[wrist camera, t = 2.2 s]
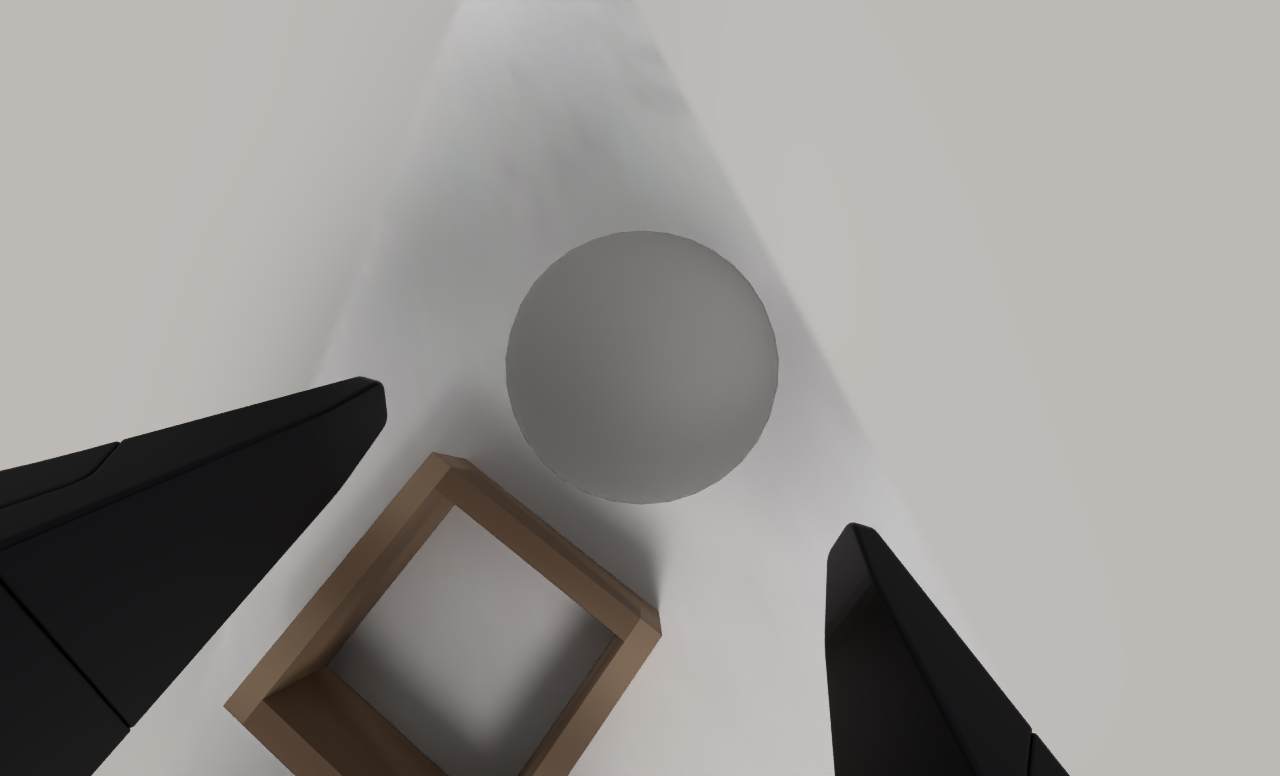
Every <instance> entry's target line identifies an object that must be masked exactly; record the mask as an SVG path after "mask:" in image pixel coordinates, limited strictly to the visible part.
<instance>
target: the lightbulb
mask: <svg viewBox="0 0 1280 776" xmlns="http://www.w3.org/2000/svg"><path fill="white" fill-rule="evenodd" d="M778 361H779V360H778V353H777V347H776V341H775V335H774V332H773V329H772V326H771V324H770V321H769V318H768V316H767V313H766V310H765V308H764V305H763V303H762V302H761V300H760V298H759V297H758V295H757V294H756V292H755V290H754V289H753V287H752V286H751V284H750V283H749V282H748V281H747V279H746V278H745V277H744V276H743V275H742V274H741V273H740V272H739V271H738V270H737V269H736V268H735V267H734V265H732V264H731V263H730V262H728V261H727V260H726V259H724V258H723V257H721V256H720V255H719V254H717V253H716V252H715V251H713V250H711V249H709V248H707V247H705V246H703V245H701V244H699V243H697V242H695V241H693V240H690V239H687V238H683V237H679V236H676V235H672V234H669V233H661V232H650V231H635V232H623V233H616V234H612V235H608V236H605V237H601V238H597V239H594V240H592V241H590V242H587V243H585V244H583V245H581V246H579V247H577V248H575V249H573V250H571V251H570V252H568V253H567V254H565V255H564V256H563V257H561V258H560V259H559V260H557V261H556V262H554V263H553V264H552V265H551V266H550V267H549V268H548V269H547V270H546V271H545V272H544V273H543V274H542V275H541V276H540V277H539V278H538V280H537V281H536V282H535V283H534V284H533V286H532V287H531V289H530V291H529V292H528V294H527V295H526V297H525V298H524V300H523V302H522V303H521V305H520V308H519V311H518V313H517V316H516V318H515V321H514V324H513V326H512V329H511V332H510V336H509V342H508V348H507V354H506V385H507V389H508V393H509V397H510V401H511V405H512V409H513V413H514V416H515V418H516V420H517V423H518V425H519V427H520V429H521V431H522V433H523V435H524V437H525V439H526V441H527V442H528V444H529V445H530V446H531V448H532V449H533V450H534V452H535V453H536V454H537V455H538V457H539V458H540V459H541V461H542V462H543V463H544V464H546V465H547V466H548V467H549V468H550V469H551V470H552V471H554V472H555V473H556V474H557V475H558V476H559V477H560V478H562V479H563V480H565V481H566V482H568V483H570V484H572V485H573V486H575V487H577V488H579V489H581V490H582V491H584V492H586V493H588V494H592V495H595V496H598V497H601V498H604V499H607V500H610V501H614V502H623V503H633V504H651V503H661V502H670V501H673V500H676V499H680V498H683V497H686V496H690V495H693V494H696V493H698V492H700V491H701V490H703V489H705V488H707V487H709V486H711V485H712V484H714V483H716V482H718V481H720V480H721V479H722V478H723V477H725V476H726V475H727V474H728V473H729V472H730V471H732V470H733V469H734V468H735V467H736V466H738V465H739V464H740V463H741V462H742V461H743V459H744V458H745V457H746V455H747V454H748V453H749V452H750V450H751V449H752V448H753V446H754V445H755V444H756V443H757V441H758V439H759V437H760V435H761V433H762V431H763V429H764V427H765V425H766V423H767V421H768V419H769V416H770V413H771V409H772V405H773V401H774V397H775V393H776V389H777V383H778Z"/></svg>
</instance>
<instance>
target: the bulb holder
mask: <svg viewBox="0 0 1280 776" xmlns="http://www.w3.org/2000/svg"><path fill="white" fill-rule="evenodd" d="M454 505H457V506H458V507H459V508H460V509H462V510H463V511H464V512H465V513H467V514H468V515H469V516H470V517H471V518H473V519H474V520H475V521H476V522H478V523H479V524H480V525H481V526H483V527H484V528H485V529H486V530H488V531H489V532H490V533H491V534H492V535H494V536H495V537H496V538H497V539H499V540H500V541H501V542H502V543H504V544H505V545H506V546H507V547H508V548H510V549H511V550H512V551H513V552H515V553H516V554H517V555H518V556H520V557H521V558H522V559H523V560H525V561H526V562H527V563H528V564H529V565H531V566H532V567H533V568H534V569H536V570H537V571H538V572H539V573H541V574H542V575H543V576H544V577H546V578H547V579H548V580H549V581H550V582H552V583H553V584H554V585H555V586H557V587H558V588H559V589H560V590H562V591H563V592H564V593H565V594H566V595H568V596H569V597H570V598H571V599H573V600H574V601H575V602H576V603H578V604H579V605H580V606H581V607H583V608H584V609H585V610H586V611H587V612H589V613H590V614H591V615H592V616H594V617H595V618H596V619H597V620H599V621H600V622H601V623H602V624H603V625H605V626H606V627H607V628H608V629H610V630H611V631H612V632H613V633H615V634H616V635H615V636H614V638H613V639H612V641H611V642H610V644H609V645H608V647H607V648H606V649H605V651H604V652H603V654H602V655H601V657H600V658H599V660H598V661H597V662H596V664H595V665H594V667H593V668H592V670H591V671H590V673H589V674H588V675H587V677H586V678H585V680H584V681H583V683H582V684H581V686H580V687H579V688H578V690H577V691H576V693H575V694H574V696H573V697H572V699H571V700H570V701H569V703H568V704H567V706H566V707H565V709H564V710H563V712H562V713H561V714H560V716H559V717H558V719H557V720H556V722H555V723H554V725H553V726H552V727H551V729H550V730H549V732H548V733H547V735H546V736H545V738H544V739H543V740H542V742H541V743H540V745H539V746H538V748H537V749H536V751H535V752H534V753H533V755H532V756H531V758H530V759H529V761H528V762H527V764H526V765H525V766H524V768H523V769H522V771H521V772H520V774H519V775H518V776H568V774H569V773H570V771H571V770H572V768H573V767H574V765H575V764H576V762H577V761H578V759H579V758H580V757H581V755H582V754H583V752H584V751H585V749H586V748H587V746H588V745H589V743H590V742H591V740H592V739H593V737H594V736H595V734H596V733H597V731H598V730H599V728H600V727H601V725H602V724H603V722H604V721H605V719H606V718H607V716H608V715H609V714H610V712H611V711H612V709H613V708H614V706H615V705H616V703H617V702H618V700H619V699H620V697H621V696H622V694H623V693H624V691H625V690H626V688H627V687H628V685H629V684H630V682H631V681H632V679H633V678H634V676H635V675H636V673H637V672H638V671H639V669H640V668H641V666H642V665H643V663H644V662H645V660H646V659H647V657H648V656H649V654H650V653H651V651H652V650H653V648H654V647H655V645H656V644H657V642H658V641H659V639H660V638H661V636H662V632H661V624H660V617H659V612H658V611H656V610H655V609H654V608H653V607H651V606H650V605H649V604H648V603H646V602H645V601H644V600H642V599H641V598H640V597H639V596H637V595H636V594H635V593H634V592H632V591H631V590H630V589H629V588H627V587H626V586H625V585H624V584H622V583H621V582H620V581H618V580H617V579H616V578H615V577H613V576H612V575H611V574H610V573H608V572H607V571H606V570H605V569H603V568H602V567H601V566H600V565H598V564H597V563H596V562H594V561H593V560H592V559H591V558H589V557H588V556H587V555H586V554H584V553H583V552H582V551H581V550H579V549H578V548H577V547H576V546H574V545H573V544H572V543H570V542H569V541H568V540H567V539H565V538H564V537H563V536H562V535H560V534H559V533H558V532H557V531H555V530H554V529H553V528H552V527H550V526H549V525H548V524H546V523H545V522H544V521H543V520H541V519H540V518H539V517H538V516H536V515H535V514H534V513H533V512H531V511H530V510H529V509H528V508H526V507H525V506H524V505H522V504H521V503H520V502H519V501H517V500H516V499H515V498H514V497H512V496H511V495H510V494H509V493H507V492H506V491H505V490H504V489H502V488H501V487H500V486H498V485H497V484H496V483H495V482H493V481H492V480H491V479H490V478H488V477H487V476H486V475H485V474H483V473H482V472H481V471H480V470H478V469H477V468H476V467H474V466H473V465H472V464H471V463H469V462H468V461H467V460H466V459H463V458H458V457H453V456H448V455H443V454H438V453H434V452H432V453H431V454H430V456H429V457H428V458H427V459H426V461H425V462H424V463H423V464H422V465H421V467H420V468H419V469H418V470H417V471H416V473H415V474H414V475H413V476H412V478H411V479H410V480H409V481H408V482H407V484H406V485H405V486H404V487H403V488H402V490H401V491H400V492H399V493H398V494H397V496H396V497H395V498H394V499H393V501H392V502H391V503H390V504H389V505H388V507H387V508H386V509H385V510H384V511H383V513H382V514H381V515H380V516H379V518H378V519H377V520H376V521H375V522H374V524H373V525H372V526H371V527H370V528H369V530H368V531H367V532H366V533H365V535H364V536H363V537H362V538H361V539H360V541H359V542H358V543H357V544H356V545H355V547H354V548H353V549H352V550H351V551H350V553H349V554H348V555H347V556H346V558H345V559H344V560H343V561H342V562H341V564H340V565H339V566H338V567H337V568H336V570H335V571H334V572H333V573H332V575H331V576H330V577H329V578H328V579H327V581H326V582H325V583H324V584H323V585H322V587H321V588H320V589H319V590H318V592H317V593H316V594H315V595H314V596H313V598H312V599H311V600H310V601H309V602H308V604H307V605H306V606H305V607H304V609H303V610H302V611H301V612H300V613H299V615H298V616H297V617H296V618H295V619H294V621H293V622H292V623H291V624H290V625H289V627H288V628H287V629H286V630H285V632H284V633H283V634H282V635H281V636H280V638H279V639H278V640H277V641H276V642H275V644H274V645H273V646H272V647H271V649H270V650H269V651H268V652H267V653H266V655H265V656H264V657H263V658H262V659H261V661H260V662H259V663H258V664H257V666H256V667H255V668H254V669H253V670H252V672H251V673H250V674H249V675H248V676H247V678H246V679H245V680H244V681H243V682H242V684H241V685H240V686H239V687H238V689H237V690H236V691H235V692H234V693H233V695H232V696H231V697H230V698H229V699H228V701H227V702H226V703H225V704H224V706H223V707H224V708H225V709H227V710H228V711H229V712H230V713H231V714H232V715H233V716H234V717H235V718H236V719H237V720H238V721H239V722H240V723H241V724H242V725H243V726H244V727H245V728H246V729H247V730H248V731H249V732H250V733H251V734H252V735H254V736H255V737H256V738H257V739H258V740H259V741H260V742H261V743H262V744H263V745H264V746H265V747H266V748H267V749H268V750H269V751H270V752H271V753H272V754H273V755H274V756H275V757H276V758H277V759H278V760H280V761H281V762H282V763H283V764H284V765H285V766H286V767H287V768H288V769H289V770H290V771H291V772H292V773H293V774H294V775H295V776H447V775H446V774H445V773H444V772H443V771H442V770H441V769H440V768H438V767H437V766H436V765H435V764H434V763H433V762H432V761H431V760H430V759H429V758H427V757H426V756H425V755H424V754H423V753H422V752H421V751H420V750H419V749H418V748H417V747H415V746H414V745H413V744H412V743H411V742H410V741H409V740H408V739H407V738H406V737H404V736H403V735H402V734H401V733H400V732H399V731H398V730H397V729H396V728H395V727H393V726H392V725H391V724H390V723H389V722H388V721H387V720H386V719H385V718H384V717H382V716H381V715H380V714H379V713H378V712H377V711H376V710H375V709H374V708H373V707H371V706H370V705H369V704H368V703H367V702H366V701H365V700H364V699H363V698H362V697H360V696H359V695H358V694H357V693H356V692H355V691H354V690H353V689H352V688H351V687H349V686H348V685H347V684H346V683H345V682H344V681H343V680H342V679H341V678H340V677H338V676H337V675H336V674H335V673H334V672H333V671H332V670H331V669H330V668H329V667H328V666H326V665H327V664H328V663H329V661H330V660H331V659H332V658H333V656H334V655H335V654H336V653H337V651H338V650H339V649H340V648H341V646H342V645H343V644H344V643H345V641H346V640H347V639H348V638H349V636H350V635H351V634H352V633H353V631H354V630H355V629H356V628H357V626H358V625H359V624H360V623H361V621H362V620H363V619H364V618H365V616H366V615H367V614H368V613H369V611H370V610H371V609H372V608H373V606H374V605H375V604H376V603H377V601H378V600H379V599H380V598H381V596H382V595H383V594H384V593H385V591H386V590H387V589H388V587H389V586H390V585H391V584H392V582H393V581H394V580H395V579H396V577H397V576H398V575H399V574H400V572H401V571H402V570H403V569H404V567H405V566H406V565H407V564H408V562H409V561H410V560H411V559H412V557H413V556H414V555H415V554H416V552H417V551H418V550H419V549H420V547H421V546H422V545H423V544H424V542H425V541H426V540H427V539H428V537H429V536H430V535H431V534H432V532H433V531H434V530H435V529H436V527H437V526H438V525H439V524H440V522H441V521H442V520H443V518H444V517H445V516H446V515H447V513H448V512H449V511H450V510H451V508H452V507H453V506H454Z"/></svg>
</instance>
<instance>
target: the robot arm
mask: <svg viewBox="0 0 1280 776" xmlns="http://www.w3.org/2000/svg"><path fill="white" fill-rule="evenodd" d="M386 421H387V408H386V399H385V391H384V386H383V385H382V383H381V382H379V381H376V380H373V379H370V378H366V377H361V376H360V377H355V378H351V379H347V380H343V381H340V382H336V383H332V384H329V385H325V386H321V387H317V388H314V389H310V390H306V391H303V392H299V393H295V394H291V395H288V396H284V397H281V398H277V399H273V400H269V401H265V402H262V403H258V404H254V405H251V406H247V407H244V408H239V409H236V410H232V411H228V412H224V413H221V414H217V415H213V416H210V417H206V418H202V419H198V420H195V421H191V422H187V423H184V424H180V425H176V426H173V427H169V428H165V429H162V430H158V431H154V432H150V433H147V434H143V435H139V436H135V437H132V438H128V439H124V440H123V441H122V442H121V443H120V442H113V443H109V444H105V445H102V446H98V447H94V448H91V449H87V450H83V451H80V452H75V453H71V454H68V455H64V456H60V457H56V458H52V459H48V460H44V461H41V462H37V463H32V464H28V465H24V466H19V467H15V468H11V469H6V470H2V471H0V776H91V775H92V774H93V773H94V772H95V771H96V769H97V768H98V767H99V766H100V765H101V764H102V762H104V761H105V759H106V758H107V757H108V756H109V755H110V754H111V752H112V751H113V750H114V749H115V748H116V747H117V746H118V744H119V743H120V742H121V741H122V740H123V739H124V737H125V736H126V735H127V734H128V733H129V732H130V728H131V727H133V726H135V724H136V723H137V722H138V721H139V720H140V719H141V717H142V716H143V715H144V714H145V713H146V712H147V711H148V710H149V708H150V707H151V706H152V705H153V704H154V703H155V701H156V700H157V699H158V698H159V697H160V695H162V693H163V692H164V691H165V690H166V689H167V688H168V687H169V685H170V684H171V683H172V682H173V681H174V680H175V679H176V677H177V676H178V675H179V674H180V673H181V672H182V671H183V669H184V668H185V667H186V666H187V665H188V664H189V662H190V661H191V660H192V659H193V658H194V657H195V656H196V654H197V653H198V652H199V651H200V650H201V649H202V648H203V646H204V645H205V644H206V643H207V642H208V641H209V640H210V638H211V637H212V636H213V635H214V634H215V633H216V632H217V630H218V629H219V628H220V627H221V626H222V625H223V624H224V622H225V621H226V620H227V619H228V618H229V617H230V616H231V614H232V613H233V612H234V611H235V610H236V609H237V607H238V606H239V605H240V604H241V603H242V602H243V601H244V599H245V598H246V597H247V596H248V595H249V594H250V593H251V591H252V590H253V589H254V588H255V587H256V586H257V585H258V583H259V582H260V581H261V580H262V579H263V578H264V577H265V575H266V574H267V573H268V572H269V571H270V570H271V568H272V567H273V566H274V565H275V564H276V563H277V562H278V560H279V559H280V558H281V557H282V556H283V555H284V554H285V552H286V551H287V550H288V549H289V548H290V547H291V546H292V544H293V543H294V542H295V541H296V540H297V539H298V538H299V536H300V535H301V534H302V533H303V532H304V531H305V530H306V528H307V527H308V526H309V525H310V524H311V523H312V521H313V520H314V519H315V518H316V517H317V516H318V515H319V513H320V512H321V511H322V510H323V509H324V508H325V507H326V505H327V504H328V503H329V502H330V501H331V500H332V498H333V497H334V496H335V495H336V494H337V492H338V491H339V490H340V489H341V487H342V486H343V485H344V483H345V482H346V481H347V479H348V478H349V476H350V475H351V474H352V472H353V471H354V469H355V468H356V466H357V465H358V464H359V462H360V461H361V459H362V458H363V457H364V455H365V454H366V452H367V451H368V449H369V448H370V447H371V445H372V444H373V442H374V441H375V439H376V438H377V437H378V435H379V434H380V432H381V431H382V429H383V428H384V426H385V424H386ZM825 658H826V670H827V683H828V695H829V708H830V720H831V733H832V745H833V757H834V770H835V776H1070V775H1069V774H1068V773H1067V772H1066V770H1065V769H1064V768H1063V767H1062V766H1061V764H1060V763H1059V762H1058V761H1057V759H1056V758H1055V757H1054V755H1053V754H1052V753H1051V752H1050V750H1049V749H1048V748H1047V747H1046V745H1045V744H1044V743H1043V742H1042V740H1041V739H1040V738H1039V736H1038V735H1037V734H1035V733H1032V728H1031V727H1030V725H1029V724H1028V723H1027V722H1026V720H1025V719H1024V718H1023V716H1022V715H1021V714H1020V713H1019V711H1018V710H1017V709H1016V708H1015V706H1014V705H1013V704H1012V702H1011V701H1010V700H1009V699H1008V697H1007V696H1006V695H1005V694H1004V692H1003V691H1002V690H1001V689H1000V687H999V686H998V685H997V683H996V682H995V681H994V680H993V678H992V677H991V676H990V675H989V673H988V672H987V671H986V670H985V668H984V667H983V666H982V664H981V663H980V662H979V661H978V659H977V658H976V657H975V656H974V654H973V653H972V652H971V651H970V649H969V648H968V647H967V645H966V644H965V643H964V642H963V640H962V639H961V638H960V637H959V635H958V634H957V633H956V631H955V630H954V629H953V628H952V626H951V625H950V624H949V623H948V621H947V620H946V619H945V618H944V616H943V615H942V614H941V612H940V611H939V610H938V609H937V607H936V606H935V605H934V604H933V602H932V601H931V600H930V599H929V597H928V596H927V595H926V593H925V592H924V591H923V590H922V588H921V587H920V586H919V585H918V583H917V582H916V581H915V580H914V578H913V577H912V576H911V574H910V573H909V572H908V571H907V569H906V568H905V567H904V566H903V564H902V563H901V562H900V560H899V559H898V558H897V557H896V555H895V554H894V553H893V552H892V550H891V549H890V548H889V547H888V545H887V544H886V543H885V541H884V540H883V539H882V538H881V536H880V535H879V534H878V533H877V532H876V530H874V529H873V528H871V527H868V526H864V525H861V524H858V523H849V524H848V525H847V526H846V527H845V528H844V530H843V531H842V533H841V535H840V536H839V538H838V539H837V541H836V542H835V544H834V545H833V547H832V548H831V550H830V552H829V555H828V560H827V582H826V611H825Z"/></svg>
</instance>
